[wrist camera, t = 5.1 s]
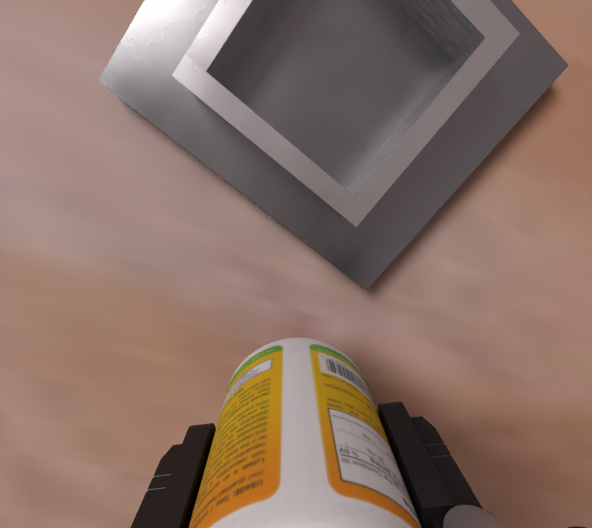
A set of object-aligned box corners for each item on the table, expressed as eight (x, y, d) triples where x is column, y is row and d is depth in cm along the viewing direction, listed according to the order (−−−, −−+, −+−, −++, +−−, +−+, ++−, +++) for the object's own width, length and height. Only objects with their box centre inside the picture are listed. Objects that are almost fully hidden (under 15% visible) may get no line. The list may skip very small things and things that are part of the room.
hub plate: (545, 73, 14) (622, 45, 11) (360, 281, 17) (379, 309, 13) (289, -210, 12) (291, -358, 8) (113, 88, 14) (60, 63, 11)
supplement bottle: (231, 455, 14) (107, 1086, 4) (223, 335, 12) (6, 871, 3) (363, 451, 14) (530, 1053, 4) (369, 331, 12) (635, 833, 3)
